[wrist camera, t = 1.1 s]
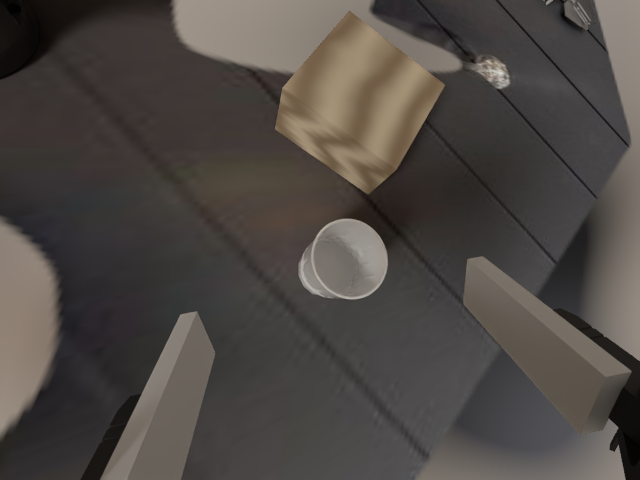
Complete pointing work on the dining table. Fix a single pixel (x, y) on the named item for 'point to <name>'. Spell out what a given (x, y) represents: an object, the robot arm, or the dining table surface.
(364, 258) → the white cup
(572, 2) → the spaceship
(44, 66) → the dining table surface
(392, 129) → the riser block
